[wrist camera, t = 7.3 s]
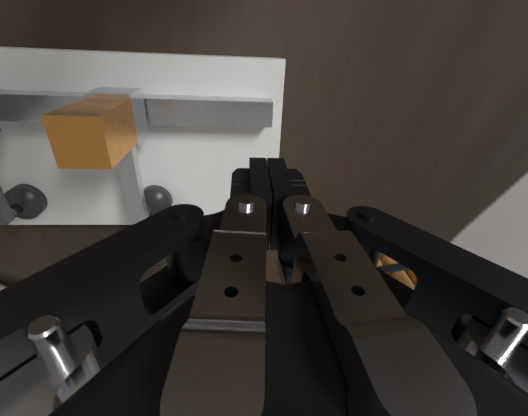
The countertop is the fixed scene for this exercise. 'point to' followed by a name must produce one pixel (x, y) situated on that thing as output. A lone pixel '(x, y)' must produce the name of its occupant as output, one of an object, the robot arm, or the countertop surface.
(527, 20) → the countertop surface
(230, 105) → the rail and fixed leg
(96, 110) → the block
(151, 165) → the hole plate
